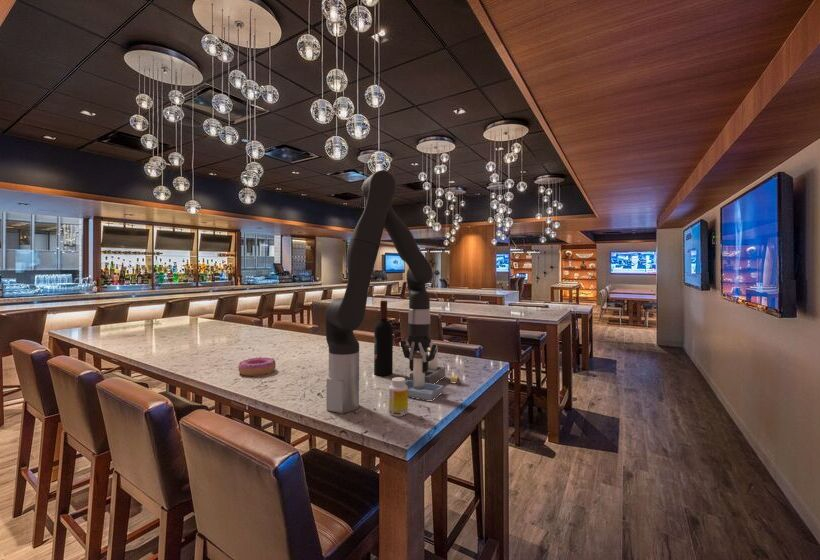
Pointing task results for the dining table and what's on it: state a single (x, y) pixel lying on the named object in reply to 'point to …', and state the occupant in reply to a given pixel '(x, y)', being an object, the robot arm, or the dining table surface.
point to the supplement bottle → (398, 397)
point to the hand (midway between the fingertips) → (419, 371)
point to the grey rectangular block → (432, 375)
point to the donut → (257, 366)
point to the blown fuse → (418, 371)
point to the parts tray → (424, 391)
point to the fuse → (433, 361)
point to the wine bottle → (383, 344)
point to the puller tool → (453, 378)
